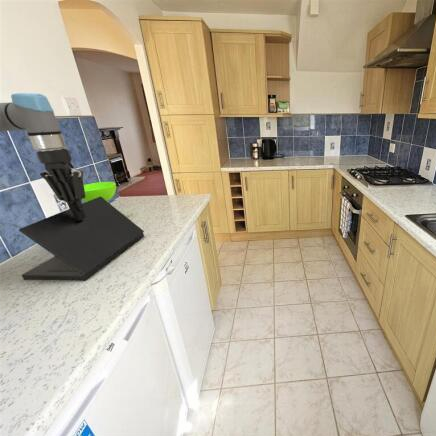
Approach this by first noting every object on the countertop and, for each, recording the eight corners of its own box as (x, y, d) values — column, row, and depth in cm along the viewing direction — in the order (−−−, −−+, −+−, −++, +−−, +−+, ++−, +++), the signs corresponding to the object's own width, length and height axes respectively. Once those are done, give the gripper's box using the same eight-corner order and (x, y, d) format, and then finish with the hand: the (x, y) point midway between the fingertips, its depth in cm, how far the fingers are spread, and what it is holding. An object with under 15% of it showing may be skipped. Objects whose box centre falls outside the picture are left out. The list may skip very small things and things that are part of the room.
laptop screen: (18, 230, 70) (19, 228, 70) (99, 197, 97) (100, 196, 97) (83, 276, 75) (84, 274, 75) (143, 232, 103) (144, 231, 102)
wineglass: (128, 213, 129) (118, 180, 122) (124, 224, 115) (112, 188, 108) (92, 219, 123) (78, 184, 115) (82, 231, 109) (67, 193, 102)
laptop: (23, 279, 77) (20, 274, 77) (97, 236, 105) (96, 232, 104) (85, 280, 76) (83, 275, 75) (144, 236, 103) (143, 232, 103)
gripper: (81, 147, 78) (106, 214, 87) (44, 148, 79) (73, 215, 88) (59, 150, 71) (89, 223, 81) (19, 151, 72) (53, 223, 82)
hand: (81, 218), depth 84 cm, fingers closed
